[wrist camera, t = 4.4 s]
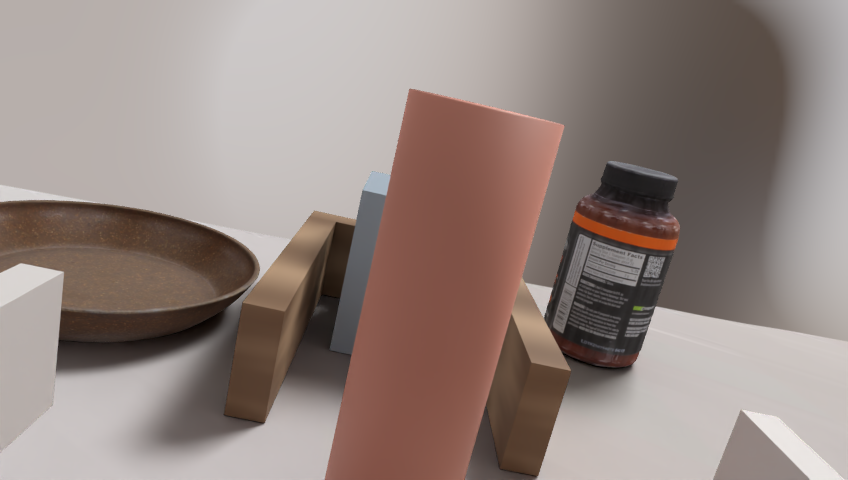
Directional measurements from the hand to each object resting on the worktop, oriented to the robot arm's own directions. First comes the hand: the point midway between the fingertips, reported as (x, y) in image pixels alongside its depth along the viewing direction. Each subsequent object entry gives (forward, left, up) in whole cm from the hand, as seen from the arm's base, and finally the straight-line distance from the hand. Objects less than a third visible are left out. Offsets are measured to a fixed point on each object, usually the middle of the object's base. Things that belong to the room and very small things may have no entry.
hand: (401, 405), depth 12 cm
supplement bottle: (-1, -27, -8) cm, 28 cm away
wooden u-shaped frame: (+6, -15, -7) cm, 18 cm away
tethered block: (+5, -11, -7) cm, 14 cm away
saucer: (+20, -10, -8) cm, 24 cm away
